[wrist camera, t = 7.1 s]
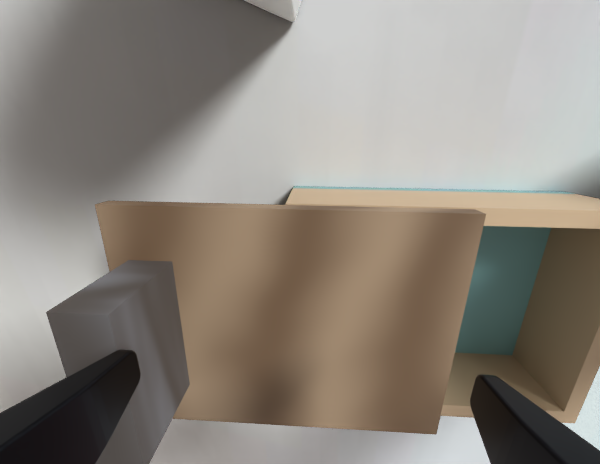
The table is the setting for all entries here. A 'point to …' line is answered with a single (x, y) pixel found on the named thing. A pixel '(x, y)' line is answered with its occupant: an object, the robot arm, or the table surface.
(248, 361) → the lid
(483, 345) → the box
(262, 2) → the milk carton
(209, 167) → the table surface
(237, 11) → the table surface
